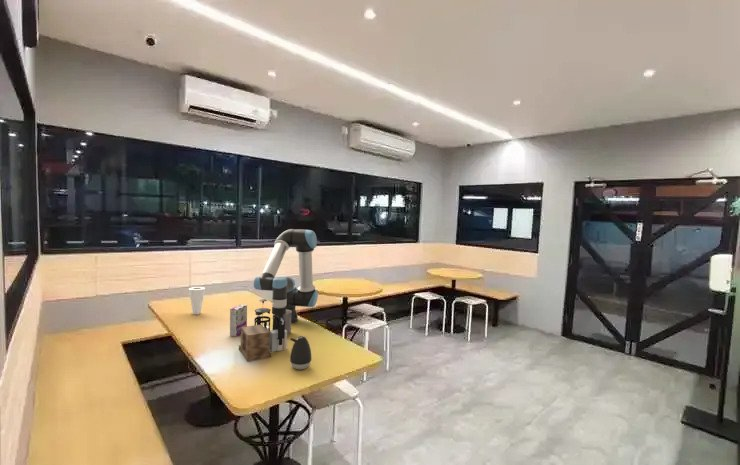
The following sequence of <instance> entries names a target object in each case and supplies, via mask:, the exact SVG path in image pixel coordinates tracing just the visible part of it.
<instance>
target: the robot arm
mask: <svg viewBox="0 0 740 465" xmlns="http://www.w3.org/2000/svg"><path fill="white" fill-rule="evenodd" d="M317 242H318V239H317V234H316V233H315V231H313V230H311V229H298V228H297V229H294V228H289V229H287V230H285V231H283V232H281V234H279V235H278V237H276V239H275V241H274V244H273V246H274V247H273V249H272V251H271V254H270V256H269V259H268V260H267V262H266V264H265V267H264V269H263V271H262V274H261V275H259V276H255V278H254V279H253V287H254V289H255V290H258V291H267V292H268V291H269V292H270V291H271V292H272V296H271V299H272V300H271V301H270V302H271V303H272V304H271V306H272V307H271V313H272V330H277V329H278V338H277V351H276V352H280V351H283V350H282V345H283V339H284V338H285V337H284V336H285V320H284V318H283V315H284V314H286V309H287V310H291V311H292V314H291V324H292V323H296V322H297V321H298V318H299V316H298V313H297V309H296V307H304V308H305V307H306V308H313V307H315V306H316V304H317V302H318V297H319V292H318V290H317V289H316V286H315V285H314V283H313V256H312V253H313V252H314V250H315V248H317V245H318V244H317ZM290 248H295V251H296V252H297V253H298V270H299V271H298V273H299V286H298V287H297V286H296V282H295V280H294V279H293V277H289V276H288V277H285V276H284V277H281V276H278V277H276V276H277V275H276V274H277V273H278V271H279V268H280V266H281V264H282V261H283V258H284V257H285V255H286V252H287V251H288V250H289V249H290ZM283 320H284V321H283Z"/></svg>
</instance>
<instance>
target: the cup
mask: <svg viewBox="0 0 740 465" xmlns="http://www.w3.org/2000/svg"><path fill="white" fill-rule="evenodd" d="M205 291H206V286H205V287H204V286H192V287H189V288H188V293H189V298H190V306H191V310H192V315H199V314H201V313H202V307H203V303H204V296H205Z"/></svg>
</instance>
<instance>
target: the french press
mask: <svg viewBox="0 0 740 465" xmlns="http://www.w3.org/2000/svg"><path fill="white" fill-rule="evenodd" d="M267 301H268V300H267V299H265V298H264V299H260V300H259V302H261V303H262V304H264V303H265V302H267ZM254 312H255V315H256V317H254V323H253V324H254V325H263V326H264V327H265V328H266V329H267V330H268V331H269V332H270V331H271V317H270V316H267V315H264V314H265V313H267V314H269V315H270V313H271V312H272V308H271V309H270V308H267V307H261V308H256V309H255V310H254ZM264 319H265V320H264ZM254 325H253V326H254Z"/></svg>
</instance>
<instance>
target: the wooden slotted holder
mask: <svg viewBox="0 0 740 465" xmlns="http://www.w3.org/2000/svg"><path fill="white" fill-rule="evenodd" d="M238 351H239V352H240V354H241V355H242V356H243V357H244V359H245V361H246V362H252V361H257V360H262V359H263V360H265V359H267V358H272V351H271V350H270V332H269V331H268V330H267V329H266V328H265V327H264V324H263V325H262V324H261V325H257V324H256V325H247V327H241V335H240V345H238Z"/></svg>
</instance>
